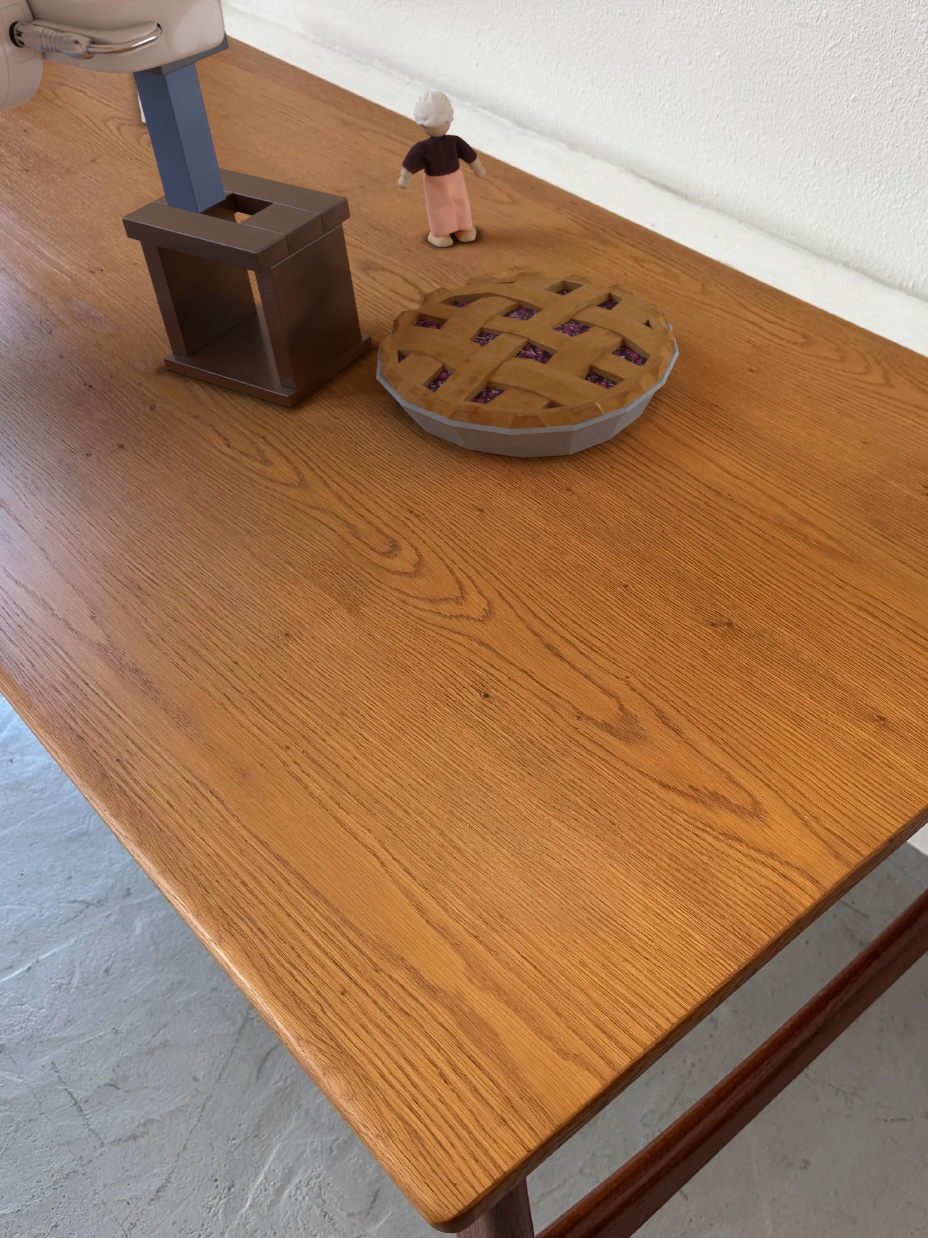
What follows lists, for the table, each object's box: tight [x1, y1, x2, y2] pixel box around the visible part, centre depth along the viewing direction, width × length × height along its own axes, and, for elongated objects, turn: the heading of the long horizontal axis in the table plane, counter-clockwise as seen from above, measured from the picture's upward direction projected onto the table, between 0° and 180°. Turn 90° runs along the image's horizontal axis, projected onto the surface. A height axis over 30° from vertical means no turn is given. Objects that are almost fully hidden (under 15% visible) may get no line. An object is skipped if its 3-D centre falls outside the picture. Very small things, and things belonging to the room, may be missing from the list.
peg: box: [132, 30, 230, 213], centre depth 74 cm, size 6×6×17 cm
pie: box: [375, 271, 680, 459], centre depth 91 cm, size 22×22×5 cm
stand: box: [121, 167, 373, 409], centre depth 92 cm, size 10×12×12 cm
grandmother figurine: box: [397, 90, 487, 248], centre depth 107 cm, size 8×4×13 cm, turn 126°
